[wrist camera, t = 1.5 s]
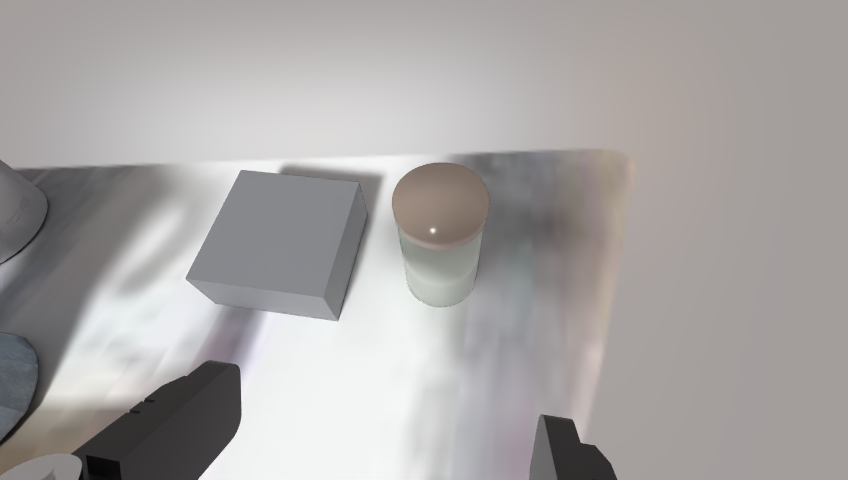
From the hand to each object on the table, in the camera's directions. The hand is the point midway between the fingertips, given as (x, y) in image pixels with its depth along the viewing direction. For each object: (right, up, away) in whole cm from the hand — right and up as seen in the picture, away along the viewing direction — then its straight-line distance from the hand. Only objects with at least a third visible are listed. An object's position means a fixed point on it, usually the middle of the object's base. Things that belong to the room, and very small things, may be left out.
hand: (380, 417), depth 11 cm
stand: (-8, +3, +20) cm, 22 cm away
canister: (+2, +2, +19) cm, 19 cm away
